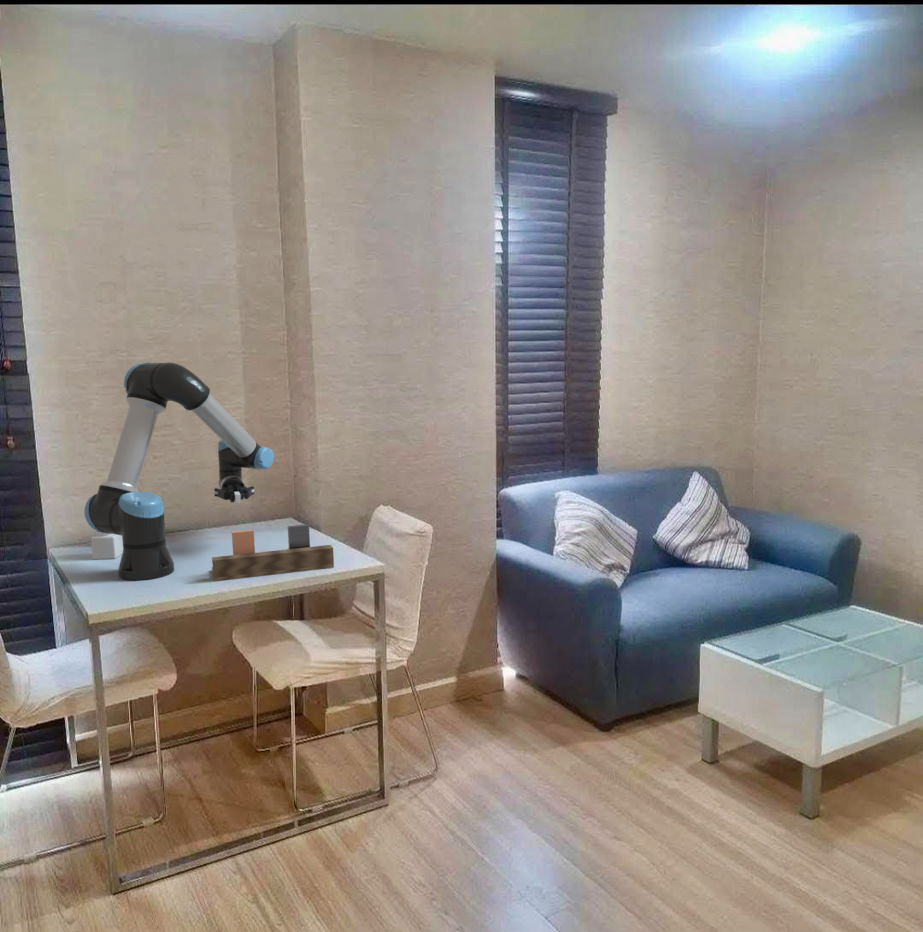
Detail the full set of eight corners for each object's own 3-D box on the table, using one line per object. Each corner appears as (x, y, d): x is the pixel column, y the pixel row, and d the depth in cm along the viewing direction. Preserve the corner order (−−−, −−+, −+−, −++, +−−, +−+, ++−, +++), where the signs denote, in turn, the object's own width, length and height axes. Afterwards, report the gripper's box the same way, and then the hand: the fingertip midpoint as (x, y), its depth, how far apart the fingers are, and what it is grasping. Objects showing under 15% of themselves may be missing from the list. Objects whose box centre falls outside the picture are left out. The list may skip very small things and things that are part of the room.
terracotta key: (234, 569, 225) (232, 532, 223) (234, 568, 226) (231, 531, 225) (255, 567, 227) (253, 530, 225) (255, 565, 229) (252, 529, 227)
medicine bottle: (124, 553, 251) (121, 517, 250) (115, 559, 244) (112, 521, 242) (102, 553, 251) (99, 517, 249) (92, 559, 244) (89, 522, 242)
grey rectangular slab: (290, 563, 230) (288, 527, 228) (289, 562, 232) (287, 526, 230) (310, 561, 232) (308, 525, 231) (309, 559, 234) (307, 524, 232)
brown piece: (214, 581, 218) (212, 560, 217) (212, 570, 229) (210, 550, 228) (334, 567, 230) (333, 547, 229) (326, 557, 241) (325, 538, 240)
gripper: (253, 497, 264) (260, 509, 242) (213, 500, 260) (216, 512, 238) (252, 476, 263) (259, 485, 241) (212, 478, 259) (215, 488, 237)
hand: (238, 499), depth 240 cm, fingers closed
